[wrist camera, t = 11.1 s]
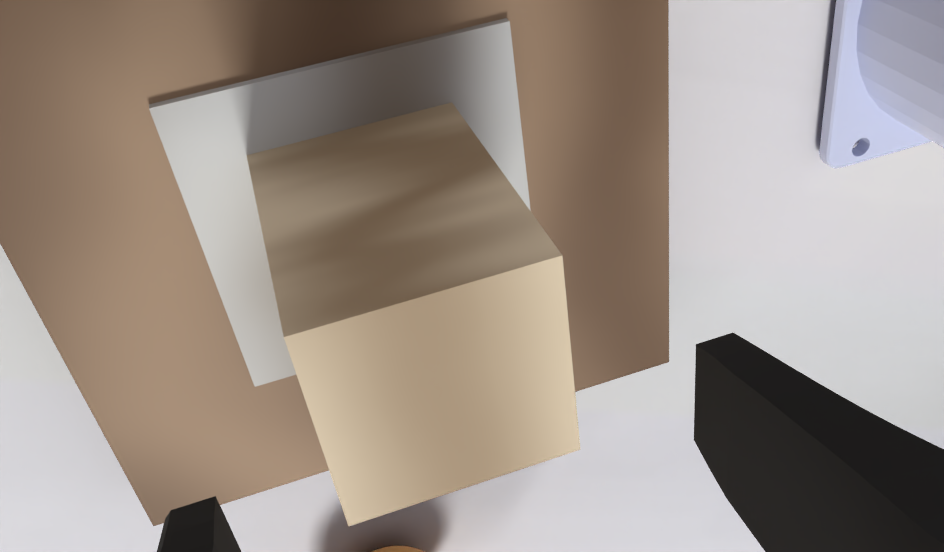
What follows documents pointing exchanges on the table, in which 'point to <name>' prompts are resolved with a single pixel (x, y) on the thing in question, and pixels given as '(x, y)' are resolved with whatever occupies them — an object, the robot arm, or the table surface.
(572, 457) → the table surface
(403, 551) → the figurine
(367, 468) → the maple block
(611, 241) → the walnut base
